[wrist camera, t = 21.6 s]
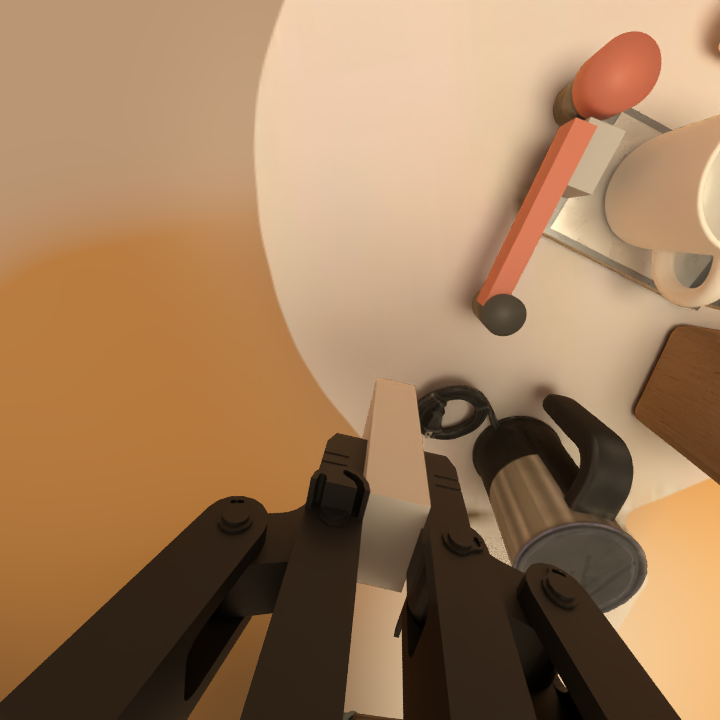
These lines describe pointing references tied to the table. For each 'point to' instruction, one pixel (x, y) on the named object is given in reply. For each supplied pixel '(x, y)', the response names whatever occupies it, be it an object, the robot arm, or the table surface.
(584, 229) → the metal tray
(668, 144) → the mug
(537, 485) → the milk frother
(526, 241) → the lever
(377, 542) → the robot arm
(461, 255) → the table surface
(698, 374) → the wooden block
